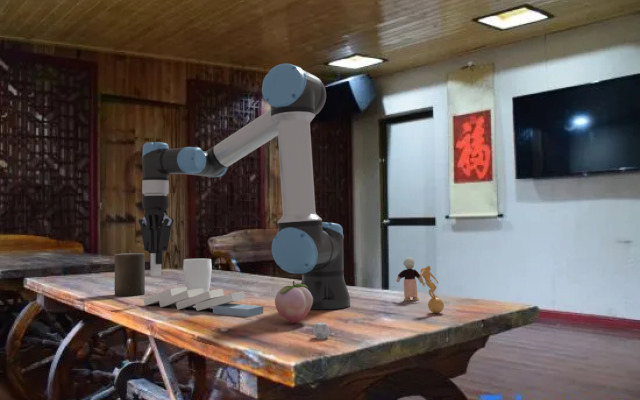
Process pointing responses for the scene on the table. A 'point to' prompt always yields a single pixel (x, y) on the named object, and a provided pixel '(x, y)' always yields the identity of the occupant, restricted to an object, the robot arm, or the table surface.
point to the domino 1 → (163, 295)
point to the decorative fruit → (293, 302)
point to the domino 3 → (199, 298)
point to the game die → (321, 331)
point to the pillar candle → (129, 274)
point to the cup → (197, 273)
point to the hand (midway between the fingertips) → (156, 275)
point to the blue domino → (238, 309)
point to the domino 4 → (220, 300)
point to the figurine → (431, 291)
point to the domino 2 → (180, 297)
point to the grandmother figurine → (409, 280)
